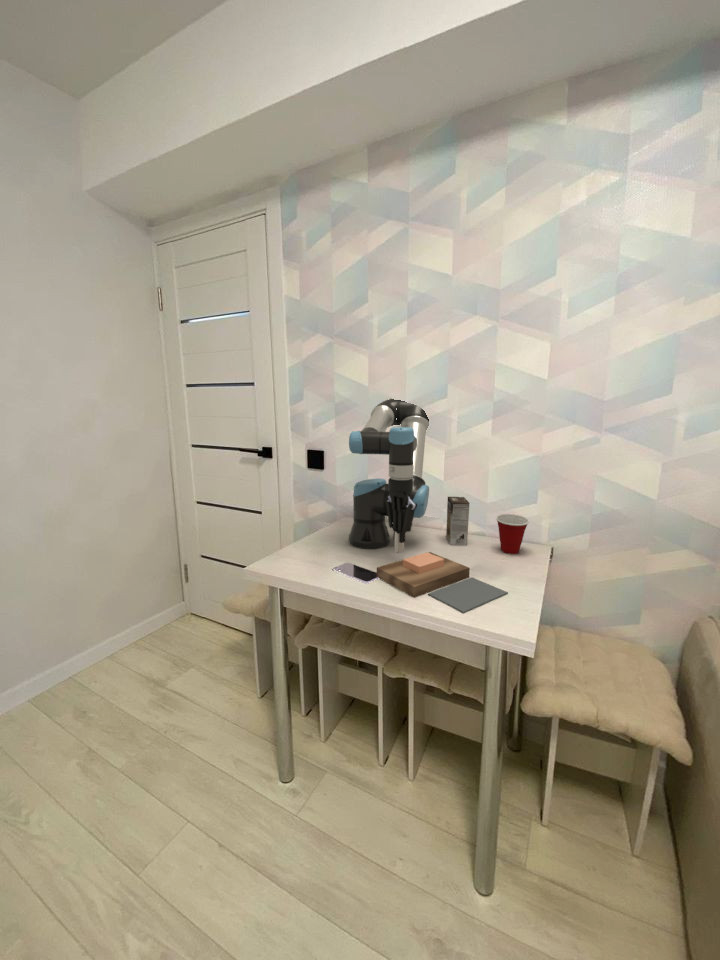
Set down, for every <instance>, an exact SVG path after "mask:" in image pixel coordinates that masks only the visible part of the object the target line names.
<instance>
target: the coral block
mask: <svg viewBox="0 0 720 960" xmlns="http://www.w3.org/2000/svg"><path fill="white" fill-rule="evenodd" d="M402 560H403V566H404V567H406V568H408V569H411V570H413V571H415V572H417V573H419V574H420V573H423V572H426V571H429V570H432V569H435V568H438V567H441V566H444V559H442V558H440V557H437V556H435V555H432V554H430V553H428V552H424V553H420V554H417V555H413V556H411V557H410V556H409V557H406V558H403V559H402Z"/></svg>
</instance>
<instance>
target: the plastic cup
mask: <svg viewBox="0 0 720 960" xmlns="http://www.w3.org/2000/svg"><path fill="white" fill-rule="evenodd" d="M495 520H496V521H497V526H498V535H499V544H500V551H501V550H502V551H501V552H502V553H506V554H508V553H510V554H511V555H516V554H518V553H519V552H520V550H521V546H522V543H523V539H524V535H525V533H526V529H527V527H528V525H529V523H530V519H529V518H527V517H525V516H522V515H519V514H515V513H513V514H511V513H502V514H501V513H500V514H499V515H496V516H495Z"/></svg>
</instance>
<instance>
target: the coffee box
mask: <svg viewBox="0 0 720 960" xmlns="http://www.w3.org/2000/svg"><path fill="white" fill-rule="evenodd" d="M446 504H447V505H446V506H447V509H446V512H447V513H446V530H445V531H446V536H445V537H447V538H446V540H447V539H448V540H447V541H448V543H449V545H450V546H468V536H469V533H468V532H469V519H470V515H469V514H470V502H469V501H468V499H466V497H464V496H447V503H446Z"/></svg>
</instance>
